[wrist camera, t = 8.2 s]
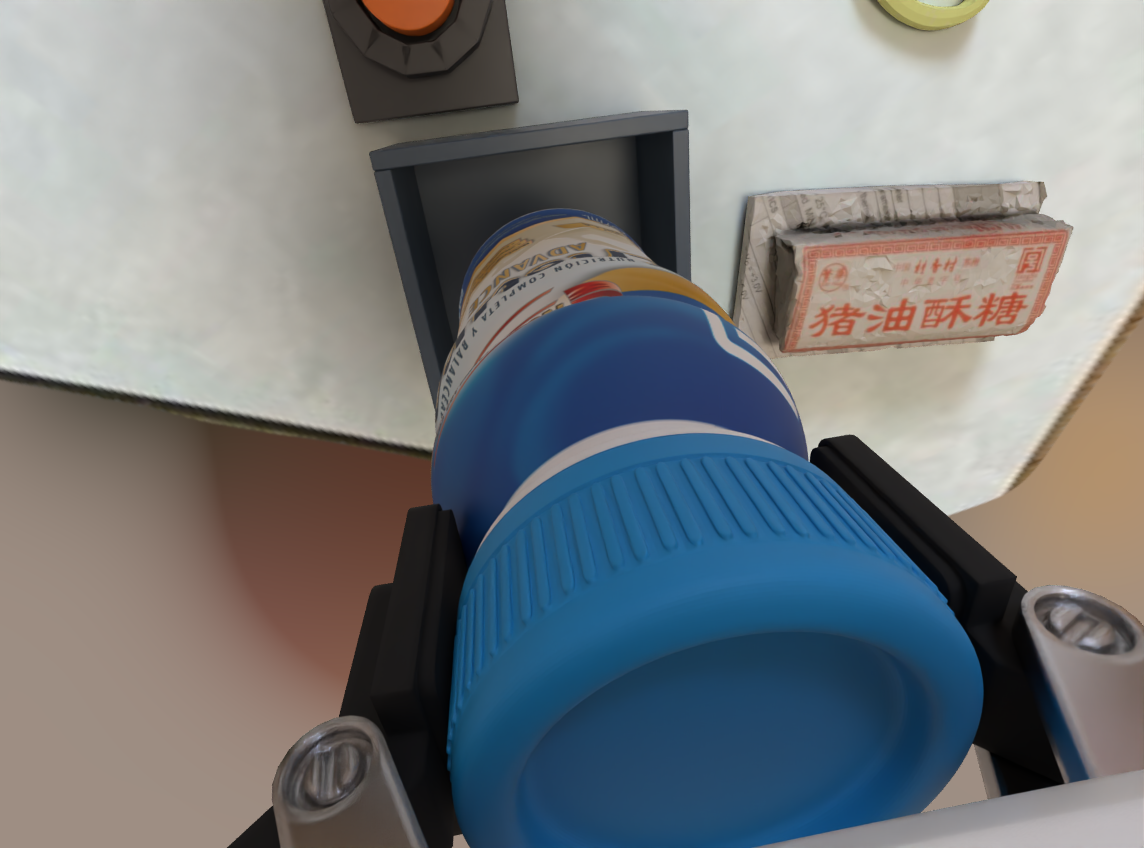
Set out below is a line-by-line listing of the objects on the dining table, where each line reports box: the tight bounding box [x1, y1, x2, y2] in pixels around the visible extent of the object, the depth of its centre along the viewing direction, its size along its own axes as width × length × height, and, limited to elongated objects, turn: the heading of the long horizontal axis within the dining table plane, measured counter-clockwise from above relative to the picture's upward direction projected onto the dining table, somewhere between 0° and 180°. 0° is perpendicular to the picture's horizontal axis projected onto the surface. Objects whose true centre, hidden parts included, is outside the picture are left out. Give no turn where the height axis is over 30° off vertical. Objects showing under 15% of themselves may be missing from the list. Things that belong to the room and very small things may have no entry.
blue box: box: [369, 110, 691, 412], centre depth 30 cm, size 13×13×8 cm
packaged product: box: [733, 181, 1073, 359], centre depth 34 cm, size 18×5×10 cm
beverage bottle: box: [431, 208, 983, 848], centre depth 16 cm, size 8×8×20 cm
